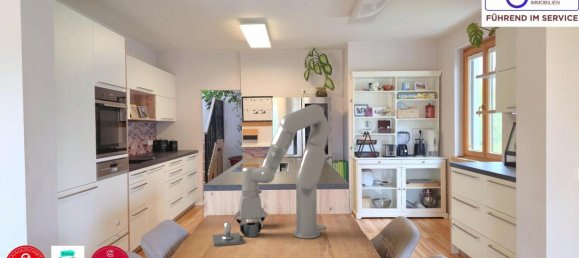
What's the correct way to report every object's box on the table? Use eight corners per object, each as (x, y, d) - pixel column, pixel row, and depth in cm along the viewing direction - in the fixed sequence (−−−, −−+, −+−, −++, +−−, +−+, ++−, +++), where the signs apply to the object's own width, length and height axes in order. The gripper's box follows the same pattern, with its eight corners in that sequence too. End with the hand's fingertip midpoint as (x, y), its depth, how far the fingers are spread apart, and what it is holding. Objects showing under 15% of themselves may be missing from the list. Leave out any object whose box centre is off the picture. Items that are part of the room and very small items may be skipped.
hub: (256, 232, 156) (256, 221, 156) (259, 236, 150) (259, 225, 150) (242, 233, 154) (242, 222, 154) (244, 237, 148) (244, 226, 148)
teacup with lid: (264, 224, 170) (264, 201, 170) (263, 229, 161) (263, 205, 161) (240, 224, 170) (240, 201, 170) (239, 229, 161) (239, 205, 161)
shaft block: (239, 235, 152) (239, 218, 152) (243, 243, 140) (243, 225, 140) (212, 237, 148) (212, 220, 148) (214, 246, 137) (214, 227, 137)
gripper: (267, 191, 158) (267, 228, 158) (230, 193, 153) (230, 231, 153) (270, 193, 151) (271, 232, 151) (232, 196, 146) (232, 236, 146)
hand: (250, 231), depth 152 cm, fingers closed on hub, 6 cm apart
